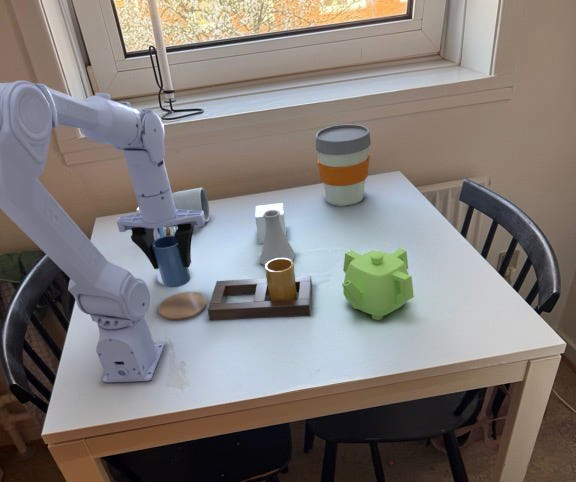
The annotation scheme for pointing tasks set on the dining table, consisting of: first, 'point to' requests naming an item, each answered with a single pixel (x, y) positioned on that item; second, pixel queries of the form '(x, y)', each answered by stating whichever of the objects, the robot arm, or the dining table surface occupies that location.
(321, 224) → the dining table surface
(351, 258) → the teapot
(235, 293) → the cup holder
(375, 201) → the dining table surface
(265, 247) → the flask
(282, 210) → the white cube
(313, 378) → the dining table surface
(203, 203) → the ceramic mug
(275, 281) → the ochre cup
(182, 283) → the blue cup
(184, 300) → the coaster
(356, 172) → the reusable coffee cup
